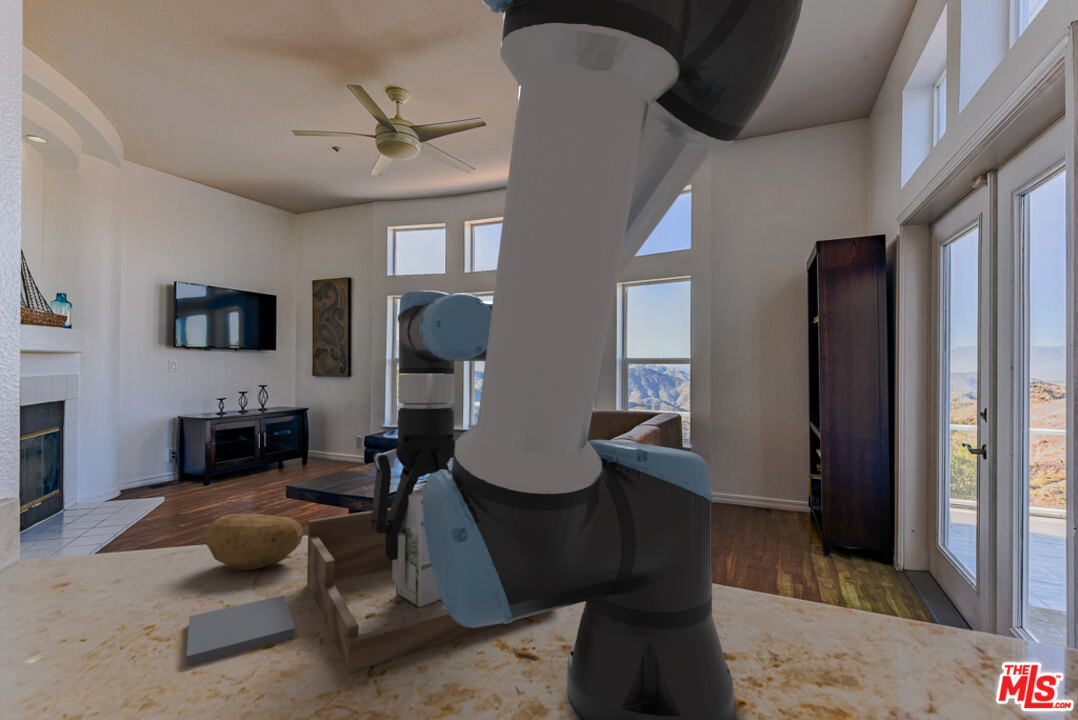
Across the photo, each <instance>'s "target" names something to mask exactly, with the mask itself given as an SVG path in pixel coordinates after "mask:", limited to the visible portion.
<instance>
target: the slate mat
mask: <svg viewBox="0 0 1078 720" xmlns="http://www.w3.org/2000/svg"><path fill="white" fill-rule="evenodd" d="M293 638H296V626H295V622H294V620H293V616H292V615H291V611H290V608H289V607H288V603H287V600H286V597H285V594H282V595H278V596H274V597H270V598H265V599H261V600H260V599H259V600H255V601H252V602H247V603H242V604H239V605H232V606H229V607H225V608H221V609H216V610H212V611H211V610H210V611H206V612H201V613H198V614H193V615H189V617H188V632H187V643H186V644H187V645H186V647H187V648H186V667H188V666H192V665H193V666H194V665H197V664H200V663H204V662H208V661H211V660H214V659H218V658H222V657H226V656H230V655H234V654H238V653H241V652H244V651H248V650H252V649H256V648H260V647H263V646H266V645H270V644H274V643H277V642H282V641H285V640H289V639H293Z"/></svg>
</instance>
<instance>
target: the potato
mask: <svg viewBox="0 0 1078 720" xmlns="http://www.w3.org/2000/svg"><path fill="white" fill-rule="evenodd" d="M303 529H304V528H303V526H302V525H301V524H300V522H298V521H297V520H295V519H293V518H290V517H289V516H288V517H287V516H280V515H279V516H277V515H271V514H270V515H269V514H261V513H249V514H248V513H231V514H226V515H225V514H224V515H223V516H220V517H217V519H215V520H213V522H211V524H210V525H208V527H207V528H206V532H205V534H204V535H205V536H204V537H205V543H206V546H207V548H208V549H209V551H210V552H211V555H212V556H213V558H214V559H215V560H216V561H218V562H219V563H221V564H224V565H226V566H229V567H231V568H234V569H237V570H241V571H242V570H243V571H252V570H257V569H260V568H262V567H265V566H269V565H274V564H278V563H280V562H282V561H284V560H285V559H286V558H287V557H288V556H289V555H290V554H291V553H293V552H294V551H295V550H296V548H298V546H300V544H301V543H302V539H303V535H304V530H303Z"/></svg>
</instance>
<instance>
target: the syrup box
mask: <svg viewBox="0 0 1078 720" xmlns="http://www.w3.org/2000/svg"><path fill="white" fill-rule="evenodd" d="M425 483H426V482H420V483H419V482H417V483H416V484H415V486H414V489H413V492H412V493H411V495H409V504H408V507H407V510H406V513H405V516H404V519H403V522H402V525H401V529H400V531H401V532H402V533H403V534H405V586H402V587H398V586H397V585H396V584H395V594H396V596H398V597H400V598H402V599H403V600H405V601H407V602H409V603H410V604H412V605H414V606H415V607H417V608H420V607H423V606H427V605H429V604H433V603H435V602H438V601H439V600H442V599H441V597H440V594H439V591H438V588H437V585H436V582H435V579H434V575H433V571H432V567H431V563H430V558H429V553H428V548H427V542H426V535H425V527H424V517H423V490H424V485H425ZM396 491H397V489H396Z"/></svg>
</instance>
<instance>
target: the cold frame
mask: <svg viewBox="0 0 1078 720" xmlns="http://www.w3.org/2000/svg"><path fill="white" fill-rule="evenodd" d="M390 509H391V507H388V511H387V518H388V515H389V512H390ZM371 519H372V510H367V511H361V512H354V513H348V514H342V515H341V514H340V515H334V516H327V517H321V518H315V519H314V518H313V519H309V520H308V521H307V524H308V525H307V564H306V565H307V566H306V567H307V572H306V573H307V574H306V577H307V578H306V581H307V582H306V584H307V587H308V590H309V592H310V593H311V595H312V597H313V599H314V602H315V604H316V606H317V607H318V610H319V612H320V614H321V616H322V618H323V619H324V620H323V621H324V622H325V624H326V626H327V628H328V631H329V632H330V634H331V636H332V638H333V641H334V642H335V645H336V647H337V649H338V651H339V653H340V655H341V657H342V660H343V661H344V664H345V666H346V668H347V670H348V672H349V673H350V674H352V673H355V672H356V673H357V672H359V671H362V670H364V669H368V668H371V667H374V666H377V665H380V664H383V663H386V662H390V661H391V660H395V659H399V658H401V657H404V656H408V655H410V654H414V653H417V652H420V651H423V650H427V649H428V648H432V647H436V646H438V645H441V644H444V643H448V642H450V641H455V640H457V639H460V638H462V637H466V636H469V635H472V634H475V633H477V632H481V631H485V630H487V629H491V628H493V627H494V628H495V627H496V626H500V625H503V624H504V623H500V624H494V625H487V626H481V627H475V628H471V627H465V626H462V625H460V624H459V623H457V622H456V621H455V620H454V619H453V618H452V617H451V616H450V615H449V613H448V612H447V610H446V609H445V610H442V611H438V612H435V613H432V614H428V615H425V616H421V617H417V618H414V619H411V620H406V621H404V622H403V621H402V622H399V623H397V624H393V625H389V626H385V627H383V628H380V629H379V628H378V629H375V630H372V631H368V632H364V633H362V634H359V627H360V626H359V623H358V622H357V620H356V619H355V617H354V615H353V613H352V612H351V610H350V608H349V607H348V605H347V603H346V602H345V600H344V599H343V597H342V596H341V594H340V592H339V590H338V589H337V587H336V586H335V582H336V581H340V580H346V579H350V578H355V577H359V576H363V575H368V574H373V573H378V572H382V571H385V570H386V571H387V570H391V569H392V561H393V560H391V561H390V560H389V559H388V558H387V556H386V554H385V551H386V534H384V533H378V532H376V531H375V530H374V529H373V528H372V527H371Z"/></svg>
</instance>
